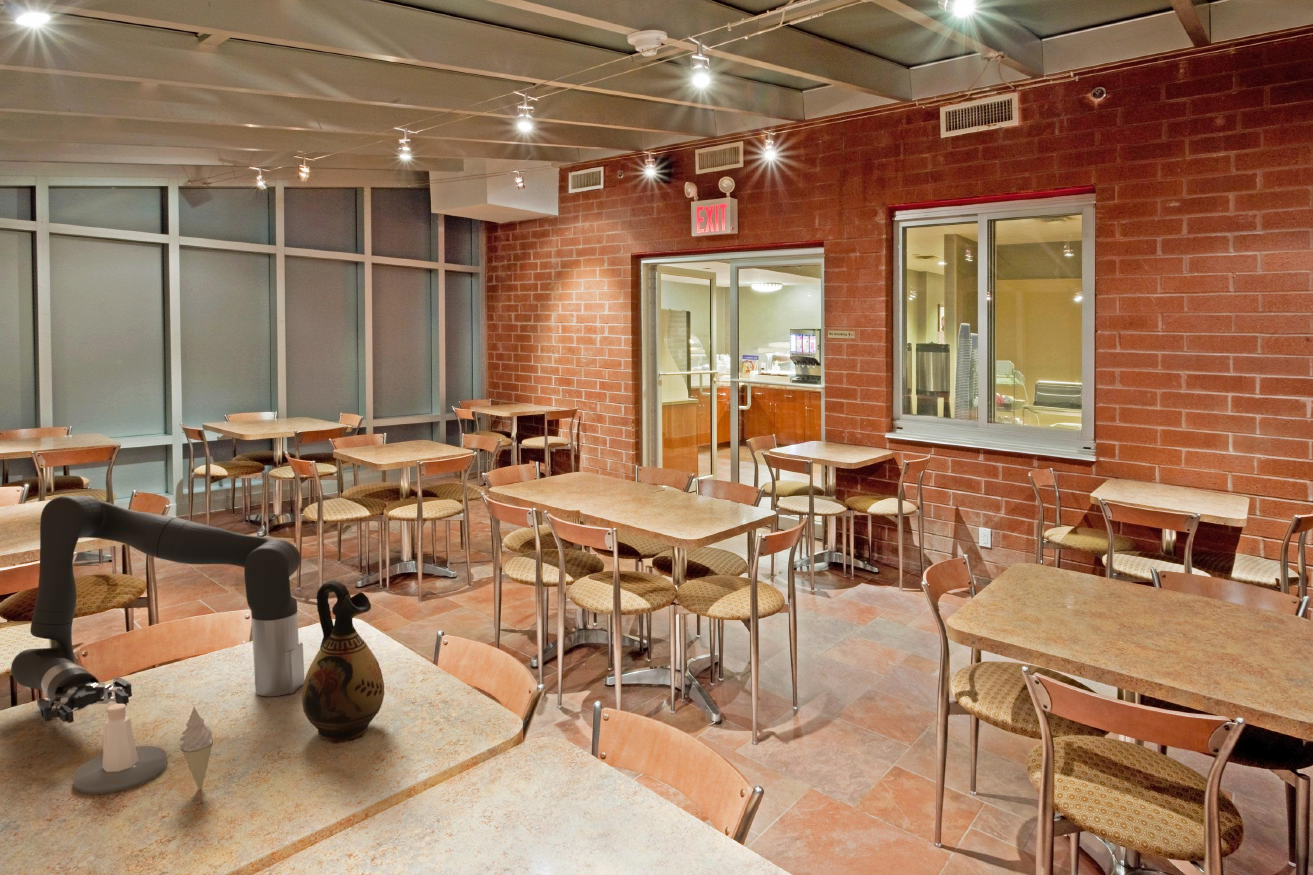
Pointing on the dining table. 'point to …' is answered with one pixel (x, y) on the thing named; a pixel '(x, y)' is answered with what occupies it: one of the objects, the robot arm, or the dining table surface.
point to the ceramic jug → (342, 671)
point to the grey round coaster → (120, 772)
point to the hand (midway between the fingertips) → (98, 709)
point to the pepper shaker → (118, 741)
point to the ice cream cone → (197, 747)
